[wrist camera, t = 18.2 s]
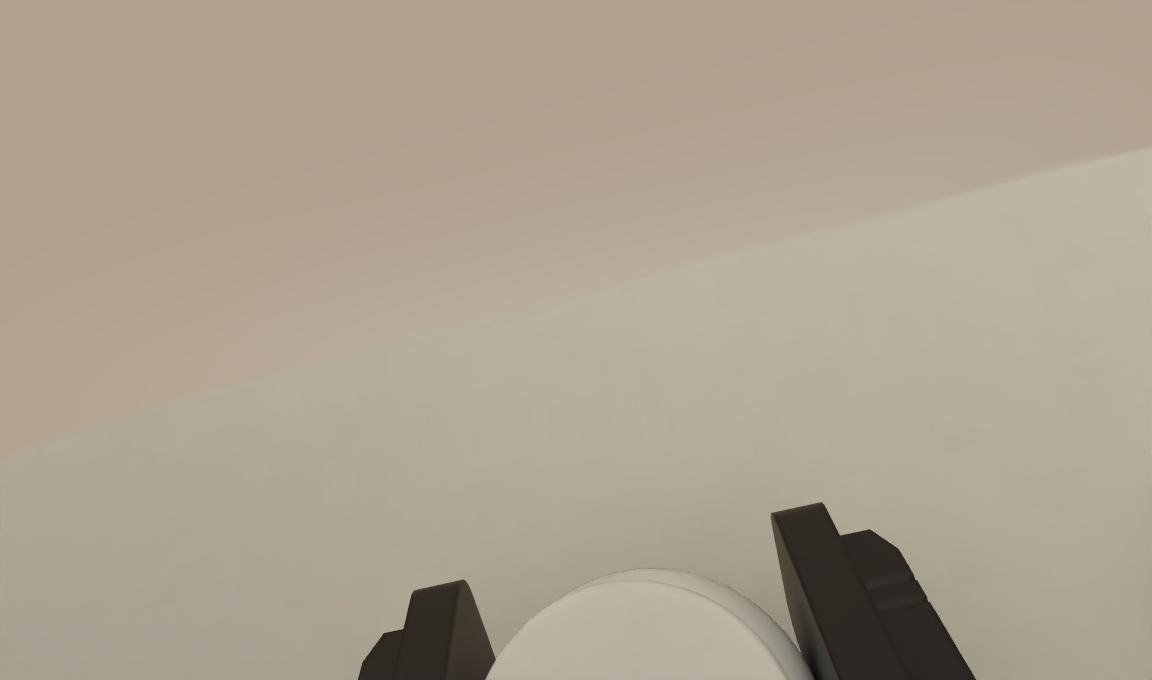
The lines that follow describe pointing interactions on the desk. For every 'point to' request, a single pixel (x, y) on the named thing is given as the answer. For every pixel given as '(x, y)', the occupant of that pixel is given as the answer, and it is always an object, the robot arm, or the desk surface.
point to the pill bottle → (651, 634)
